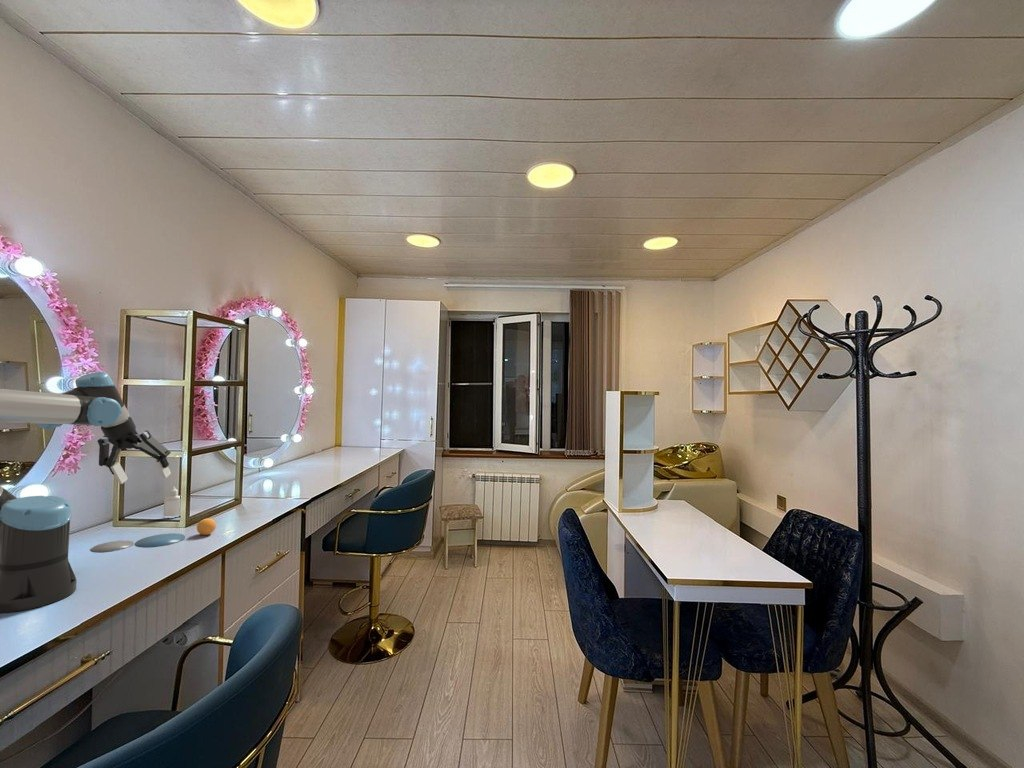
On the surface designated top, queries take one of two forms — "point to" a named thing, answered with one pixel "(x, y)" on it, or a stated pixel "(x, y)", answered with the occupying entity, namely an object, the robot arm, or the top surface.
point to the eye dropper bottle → (172, 503)
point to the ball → (206, 526)
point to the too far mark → (112, 546)
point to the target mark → (160, 540)
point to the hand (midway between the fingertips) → (145, 478)
